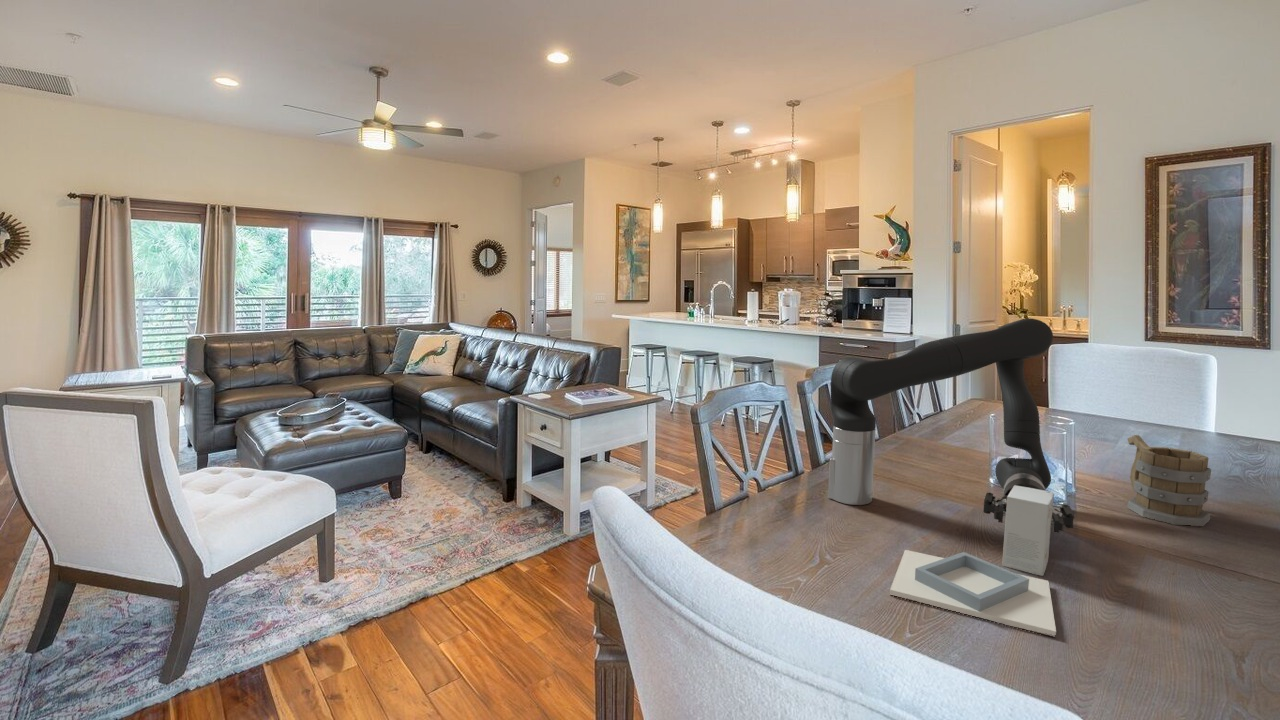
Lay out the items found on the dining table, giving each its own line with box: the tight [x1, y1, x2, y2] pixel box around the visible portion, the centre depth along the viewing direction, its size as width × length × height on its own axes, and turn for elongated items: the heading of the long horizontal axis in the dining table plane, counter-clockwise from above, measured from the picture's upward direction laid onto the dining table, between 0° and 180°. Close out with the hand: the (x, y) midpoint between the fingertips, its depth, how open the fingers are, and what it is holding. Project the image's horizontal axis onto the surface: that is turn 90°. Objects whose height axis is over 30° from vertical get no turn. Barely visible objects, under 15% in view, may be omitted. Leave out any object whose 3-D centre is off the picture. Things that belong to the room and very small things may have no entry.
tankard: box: [1126, 434, 1212, 527], centre depth 131 cm, size 20×13×15 cm, turn 170°
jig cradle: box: [889, 549, 1057, 636], centre depth 96 cm, size 22×17×3 cm
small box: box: [1001, 485, 1055, 577], centre depth 105 cm, size 8×6×13 cm
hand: (1028, 522), depth 107 cm, fingers open, 8 cm apart
